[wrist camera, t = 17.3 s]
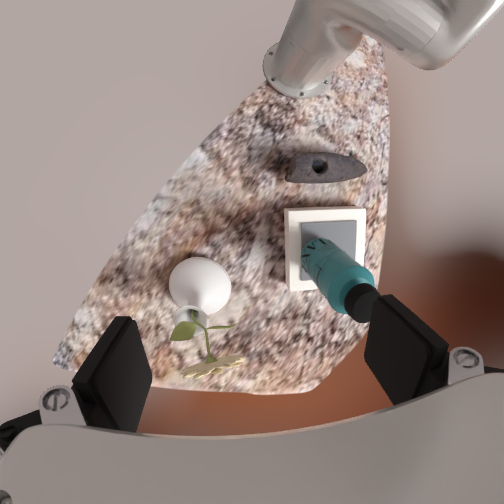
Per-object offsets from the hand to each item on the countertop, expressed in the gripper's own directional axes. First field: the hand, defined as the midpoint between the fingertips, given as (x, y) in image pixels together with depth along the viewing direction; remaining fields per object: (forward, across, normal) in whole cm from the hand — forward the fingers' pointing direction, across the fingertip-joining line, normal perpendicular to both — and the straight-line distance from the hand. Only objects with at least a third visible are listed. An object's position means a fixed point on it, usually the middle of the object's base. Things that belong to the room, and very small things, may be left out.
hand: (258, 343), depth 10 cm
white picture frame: (+38, -15, +7) cm, 42 cm away
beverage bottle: (+34, -12, +7) cm, 37 cm away
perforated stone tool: (+39, -15, -7) cm, 42 cm away
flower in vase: (+38, +7, +13) cm, 41 cm away
